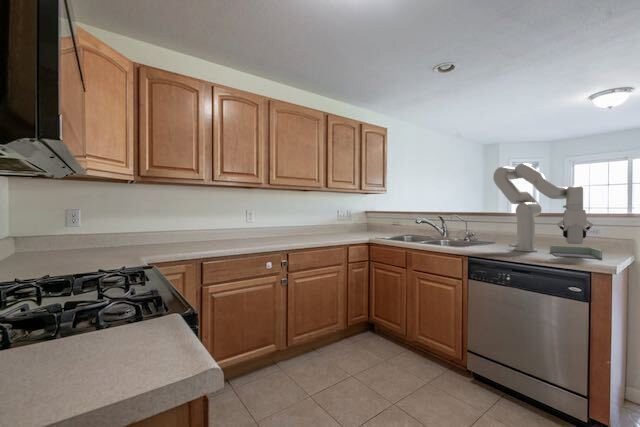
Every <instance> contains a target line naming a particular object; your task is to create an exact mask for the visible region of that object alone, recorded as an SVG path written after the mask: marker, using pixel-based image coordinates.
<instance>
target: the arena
mask: <svg viewBox="0 0 640 427" xmlns="http://www.w3.org/2000/svg"><path fill="white" fill-rule="evenodd" d="M549 253H550V254H551V255H552V256H554V255H555V256H554V257H556V256H560V257H559V258H572V257H574V259H575V258H576V259H591V260H593V259H594V260H603V250H601V249H599V248H595V247H589V246H573V245H572V246H571V245H570V246H568V245H549Z"/></svg>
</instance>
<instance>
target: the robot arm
mask: <svg viewBox="0 0 640 427" xmlns="http://www.w3.org/2000/svg"><path fill="white" fill-rule="evenodd" d="M518 179H523V180H525V181H526V182H528V183H529V184H531V185H532V186H533V187H534V188H535V189H536V190H537V191H538V192H539V193H541V194H542V195H543V196H545V197H547V198H549V199H551V200H565V205H562V208H563V209H564V211H563V217H562V220H560V221H559V222H557V223H556V226H558V228H559V229H560V230H562V236H563V238H565V239H566V238H567V231H566V229H567V228H568V227H570V226H571V225H574V224H573V223H578V225H580V226H582V227H583V239H585V238H586V237H587V231H589V230H590V229H591V228H592V227H593V226H594V224H593V223H592V222H590V221H589V220H587V213H586V212H587V211H586V210H585V209H584V188H583V186H581V185H571V186H558V185H557V186H556V185H554V184H553V183H551V182H550V181H548V180H547V179H546V176H545V174H544V173H542V172H541V171H539V170H537V167H536V166H535V165H534V164H531V163H525V162H524V163H519V164H518V165H516V166H515V167H514V166H513V167H512V166H499V167H498V168H496V169H495V171H494V172H493V182H494V184H495V186H497V188H498V189H499V190H500V192H501V193H502V194H503V195H504V197H505V198H506V199H507V200H508V201H509V203H511V204H513V205H516V208H515V214H516V227H517V228H516V242H515V243H508V247H509V248H510V247H514V248H513V250H514V251H517V252H518V251H520V252H532V253H533V252H534V253H536V252H538V249H537V248H535V241H536V240H535V238H536V236H535V235H536V234H535V233H536V232H535V231H536V230H535V229H536V224H535V223H536V222H535V217H538V216H539V215H541V213H542V206H541V205H540V204H539V202H538V201H537V200H536V199H535V198H534V197H533V195H532V194H531V193H530V192H528V191H527V190H522V189H519V188H517V187H516V185H515V184H514V183H513V182H512V181H511V180H518ZM562 225H563V226H562Z"/></svg>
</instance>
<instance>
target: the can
mask: <svg viewBox="0 0 640 427" xmlns="http://www.w3.org/2000/svg"><path fill="white" fill-rule="evenodd" d="M573 224H574V225H571V226H570V227H568V228H567V229H566V231H567V238H565V242H566V243H567V244H571V245H582V244H583V243H584V238H583V227H582V226H580V225H578V223H573Z"/></svg>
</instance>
